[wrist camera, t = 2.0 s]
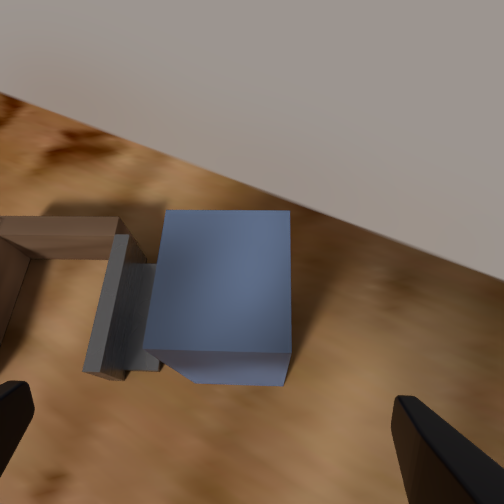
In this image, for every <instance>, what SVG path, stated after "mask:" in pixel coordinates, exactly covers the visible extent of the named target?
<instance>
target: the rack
mask: <svg viewBox="0 0 504 504" xmlns="http://www.w3.org/2000/svg"><path fill="white" fill-rule="evenodd" d="M115 234H129V235H130V236H131V237H132V239H133V240H134V241H135V243H136V244H137V241H136V240H135V239H134V237H133V236H132V234H131V233H130V232H129V230H128V229H127V227H126V226H125V224H124V223H123V222H122V220H121V219H120V217H88V216H0V345H1V342H2V340H3V337H4V334H5V331H6V328H7V325H8V322H9V319H10V316H11V313H12V311H13V308H14V305H15V302H16V299H17V296H18V293H19V290H20V287H21V284H22V282H23V279H24V276H25V273H26V270H27V267H28V264H29V261H30V259H92V260H109V257H110V252H111V248H112V244H113V240H114V236H115Z"/></svg>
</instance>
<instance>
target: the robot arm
mask: <svg viewBox="0 0 504 504" xmlns="http://www.w3.org/2000/svg"><path fill="white" fill-rule="evenodd" d="M34 411H35V407H34V403H33V399H32V395H31V391H30V387H29V384H28V383H27V382H25V381H7V382H5V383H3V384H1V385H0V477H1V475H2V473H3V472H4V470H5V468H6V466H7V464H8V463H9V461H10V459H11V457H12V455H13V453H14V451H15V450H16V448H17V446H18V444H19V442H20V440H21V438H22V437H23V435H24V433H25V431H26V429H27V427H28V425H29V424H30V422H31V420H32V418H33V415H34ZM391 431H392V436H393V441H394V445H395V449H396V453H397V457H398V461H399V466H400V470H401V474H402V478H403V482H404V486H405V490H406V494H407V498H408V502H409V504H504V468H502V467H501V466H500V465H499V464H498V463H496V462H495V461H494V460H493V459H491V458H490V457H489V456H488V455H486V454H485V453H484V452H483V451H482V450H480V449H479V448H478V447H477V446H475V445H474V444H473V443H472V442H471V441H469V440H468V439H467V438H466V437H464V436H463V435H462V434H461V433H459V432H458V431H457V430H456V429H455V428H453V427H452V426H451V425H450V424H448V423H447V422H446V421H445V420H443V419H442V418H441V417H440V416H439V415H437V414H436V413H435V412H434V411H432V410H431V409H430V408H429V407H427V406H426V405H425V404H424V403H423V402H421V401H420V400H419V399H418V398H416V397H414V396H405V395H398V396H397V397H396V398H395V400H394V407H393V413H392V420H391Z"/></svg>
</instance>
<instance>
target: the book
mask: <svg viewBox="0 0 504 504" xmlns="http://www.w3.org/2000/svg"><path fill="white" fill-rule="evenodd" d="M142 349H143V350H145V351H146V352H148V353H149V354H151V355H152V356H154V357H155V358H157V359H159V360H160V361H162V362H163V363H165V364H166V365H168V366H169V367H171V368H172V369H174V370H176V371H177V372H179V373H180V374H182V375H183V376H185V377H186V378H188V379H189V380H191V381H192V382H194V383H201V384H230V385H260V386H283V385H284V381H285V377H286V373H287V369H288V365H289V362H290V358H291V354H292V342H291V255H290V211H276V210H166V213H165V219H164V225H163V231H162V237H161V242H160V248H159V254H158V260H157V266H156V272H155V278H154V283H153V289H152V295H151V301H150V307H149V313H148V319H147V324H146V330H145V336H144V342H143V348H142Z"/></svg>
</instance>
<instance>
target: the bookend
mask: <svg viewBox="0 0 504 504" xmlns="http://www.w3.org/2000/svg"><path fill="white" fill-rule="evenodd" d="M146 261H147V258H146V257H145V255H144V254H143V253H142V251H141V250H140V248H139V247H138V246H137V244H136V243H135V241H134V240H133V239H132V237H131V236H130V235H129V234H115V236H114V240H113V244H112V248H111V252H110V257H109V261H108V265H107V269H106V274H105V278H104V282H103V286H102V290H101V295H100V299H99V303H98V307H97V311H96V316H95V320H94V324H93V328H92V333H91V337H90V341H89V345H88V349H87V354H86V358H85V362H84V366H83V370H82V372H85V373H88V374H91V375H95V376H98V377H101V378H104V379H107V380H117V381H124V380H125V374H126V371H151V372H160V368H161V361H160V360H159V359H157V358H155V357H154V356H152V355H151V354H149V353H148V352H146V351H145V350H143V349H142V348H143V342H144V336H145V330H146V324H147V319H148V313H149V307H150V301H151V295H152V289H153V283H154V278H155V272H156V266H157V264H146Z"/></svg>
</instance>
